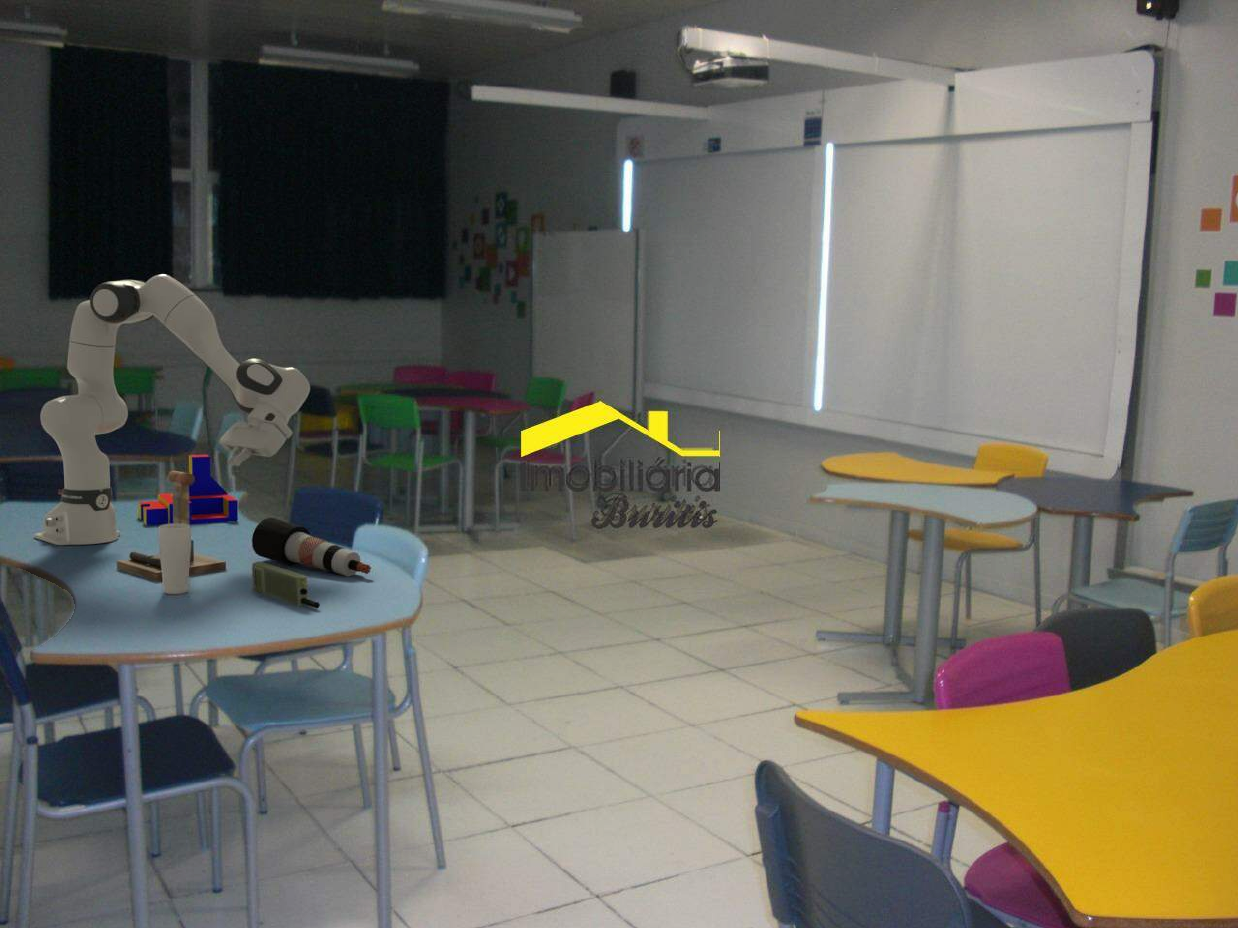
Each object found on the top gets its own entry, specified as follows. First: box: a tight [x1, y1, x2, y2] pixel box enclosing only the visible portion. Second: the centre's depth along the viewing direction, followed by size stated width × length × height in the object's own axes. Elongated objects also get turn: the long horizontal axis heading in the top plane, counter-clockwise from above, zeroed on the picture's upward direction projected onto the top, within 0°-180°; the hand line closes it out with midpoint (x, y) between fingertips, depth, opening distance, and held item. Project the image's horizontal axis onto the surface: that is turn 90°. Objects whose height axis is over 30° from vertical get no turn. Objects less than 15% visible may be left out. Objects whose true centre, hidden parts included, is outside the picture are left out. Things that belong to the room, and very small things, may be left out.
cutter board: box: [116, 539, 227, 582], centre depth 290 cm, size 18×18×7 cm
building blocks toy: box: [137, 454, 239, 527], centre depth 355 cm, size 19×25×18 cm
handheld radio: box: [251, 560, 321, 609], centre depth 264 cm, size 7×3×25 cm
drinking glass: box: [157, 523, 192, 595], centre depth 267 cm, size 7×7×15 cm
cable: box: [251, 517, 372, 577], centre depth 294 cm, size 10×34×10 cm, turn 56°
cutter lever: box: [167, 470, 195, 525], centre depth 290 cm, size 3×7×20 cm, turn 50°
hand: (232, 464), depth 300 cm, fingers closed
